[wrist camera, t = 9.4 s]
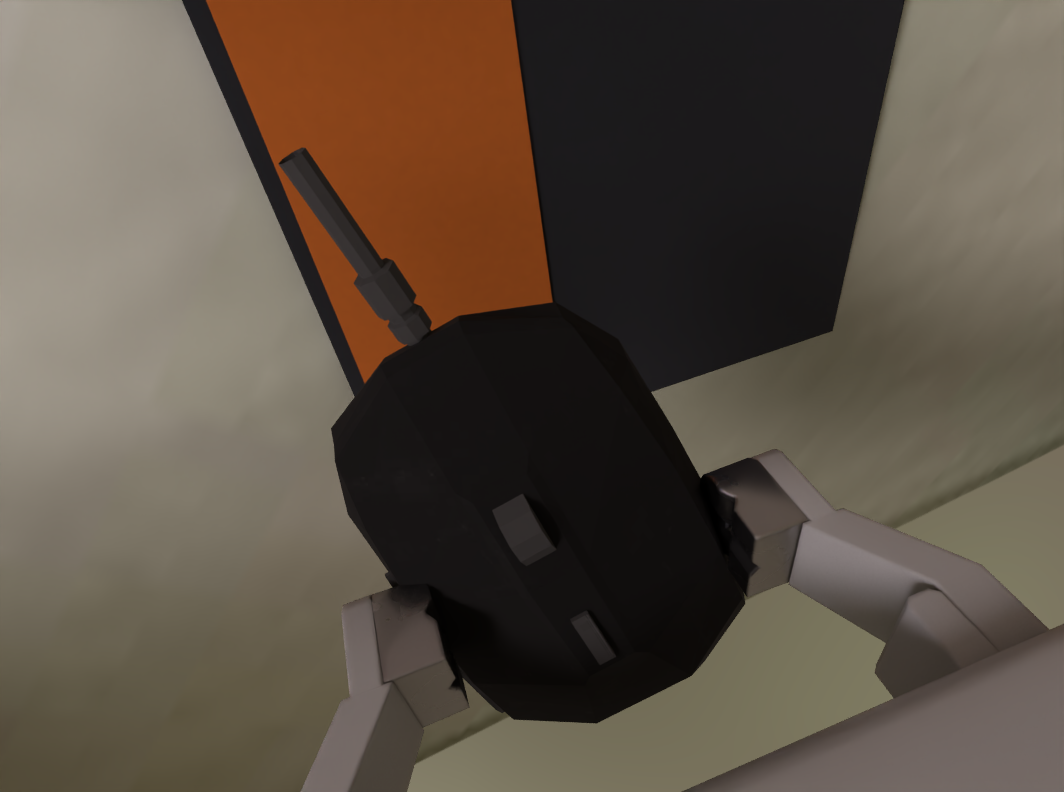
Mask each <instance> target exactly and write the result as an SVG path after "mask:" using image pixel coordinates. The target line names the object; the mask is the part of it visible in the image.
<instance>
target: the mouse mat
mask: <svg viewBox="0 0 1064 792" xmlns="http://www.w3.org/2000/svg"><path fill="white" fill-rule="evenodd" d="M182 1H183V4H184V6H185V8H186V11H187V13H188V15H189V17H190V20H191V22H192V24H193V27H194V29H195V31H196V34H197V36H198V38H199V40H200V43H201V45H202V47H203V50H204V52H205V54H206V56H207V59H208V61H209V63H210V66H211V68H212V70H213V73H214V75H215V77H216V79H217V82H218V84H219V86H220V89H221V91H222V93H223V95H224V98H225V100H226V102H227V105H228V107H229V109H230V112H231V114H232V116H233V118H234V121H235V123H236V125H237V128H238V130H239V132H240V134H241V137H242V139H243V141H244V144H245V146H246V148H247V151H248V153H249V155H250V157H251V160H252V162H253V164H254V167H255V169H256V171H257V173H258V176H259V178H260V180H261V183H262V185H263V187H264V190H265V192H266V194H267V196H268V199H269V201H270V203H271V206H272V208H273V210H274V212H275V215H276V217H277V219H278V222H279V224H280V226H281V229H282V231H283V233H284V235H285V238H286V240H287V242H288V245H289V247H290V249H291V251H292V254H293V256H294V258H295V261H296V263H297V265H298V268H299V270H300V272H301V274H302V277H303V279H304V281H305V284H306V286H307V288H308V290H309V293H310V295H311V297H312V300H313V302H314V304H315V307H316V309H317V311H318V313H319V316H320V318H321V320H322V323H323V325H324V327H325V329H326V332H327V334H328V336H329V339H330V341H331V343H332V346H333V348H334V350H335V352H336V355H337V357H338V359H339V362H340V364H341V366H342V368H343V371H344V373H345V375H346V378H347V380H348V382H349V385H350V387H351V389H352V391H353V394H354V396H356V395H357V393H358V392H359V391H360V390H361V388H362V387H363V386H364V384H365V383H366V382H367V380H368V379H369V378H370V376H371V375H372V374H373V372H374V371H375V370H376V368H377V367H378V366H379V364H380V363H381V362H382V360H383V359H384V358H385V357H387V356H389V355H390V354H392V353H394V352H396V351H397V350H399V349H401V348H403V347H404V346H406V345H407V344H406V345H404V344H402V343H400V342H399V341H398V340H397V339H396V337H395V336H394V335H393V333H392V332H391V331H390V329H389V328H388V324H389V322H390V321H389V320H386V321H384V320H383V319H381V318H379V317H378V316H377V315H376V313H375V312H374V311H373V309H372V308H371V306H370V305H369V304H368V302H367V301H366V300H365V298H364V297H363V296H362V294H361V293H360V292H359V290H358V289H357V287H356V286H355V285H354V281H355V279H356V278H357V276H358V274H357V272H356V271H355V270H354V268H353V267H352V265H351V264H350V263H349V261H348V260H347V258H346V257H345V256H344V254H343V253H342V252H341V250H340V249H339V247H338V246H337V245H336V243H335V242H334V240H333V239H332V238H331V236H330V235H329V234H328V232H327V231H326V229H325V228H324V227H323V225H322V224H321V222H320V221H319V220H318V218H317V217H316V215H315V214H314V213H313V211H312V210H311V209H310V207H309V206H308V204H307V203H306V202H305V200H304V199H303V197H302V196H301V195H300V193H299V192H298V191H297V189H296V188H295V186H294V185H293V184H292V182H291V181H290V179H289V178H288V177H287V175H286V174H285V173H284V171H283V170H282V168H281V167H280V166H279V164H278V163H279V162H280V161H281V160H282V159H283V158H285V157H286V156H288V155H289V154H291V153H292V152H294V151H296V150H298V149H300V148H306V149H307V151H308V152H309V154H310V155H311V156H312V158H313V159H314V161H315V162H316V164H317V165H318V167H319V168H320V170H321V171H322V173H323V174H324V175H325V177H326V178H327V180H328V181H329V183H330V184H331V186H332V187H333V189H334V190H335V192H336V193H337V195H338V196H339V197H340V199H341V200H342V202H343V203H344V205H345V206H346V208H347V209H348V211H349V212H350V214H351V215H352V217H353V218H354V219H355V221H356V222H357V224H358V225H359V227H360V228H361V230H362V231H363V233H364V234H365V236H366V237H367V239H368V240H369V241H370V243H371V244H372V246H373V247H374V249H375V250H376V252H377V253H378V255H379V256H380V258H381V259H384V258H388V259H391V260H393V261H394V262H395V264H396V265H397V267H398V268H399V270H400V271H401V273H402V274H403V276H404V277H405V279H406V280H407V282H408V283H409V285H410V286H411V288H412V289H413V291H414V292H415V294H416V295H417V296H416V298H415V300H414V304H417V305H420V306H422V308H423V309H424V310H425V312H426V313H427V315H428V316H429V318H430V319H431V321H432V324H431V327H430V329H431V331H433V330H434V329H436V328H438V327H440V326H441V325H443V324H445V323H447V322H448V321H450V320H452V319H454V318H455V317H457V316H460V315H467V314H474V313H481V312H488V311H495V310H502V309H509V308H516V307H523V306H530V305H537V304H544V303H551V302H556V303H558V304H560V305H561V306H563V307H565V308H566V309H568V310H570V311H572V312H573V313H575V314H577V315H578V316H580V317H582V318H583V319H585V320H587V321H589V322H590V323H592V324H594V325H595V326H597V327H599V328H601V329H602V330H604V331H606V332H607V333H609V334H611V335H612V336H614V337H616V338H618V339H619V341H620V342H621V344H622V346H623V347H624V349H625V351H626V352H627V354H628V355H629V357H630V359H631V360H632V362H633V364H634V365H635V367H636V369H637V370H638V372H639V373H640V375H641V377H642V378H643V380H644V382H645V383H646V385H647V387H648V388H649V390H650V391H651V392H652V391H655V390H658V389H661V388H664V387H667V386H670V385H673V384H676V383H679V382H682V381H685V380H688V379H691V378H694V377H697V376H700V375H702V374H705V373H708V372H711V371H714V370H717V369H720V368H723V367H726V366H729V365H732V364H735V363H738V362H741V361H744V360H747V359H750V358H753V357H756V356H759V355H762V354H765V353H768V352H771V351H774V350H777V349H780V348H783V347H786V346H789V345H792V344H795V343H798V342H801V341H804V340H807V339H810V338H813V337H816V336H819V335H822V334H825V333H828V332H831V331H832V330H833V326H834V322H835V317H836V313H837V308H838V303H839V299H840V294H841V290H842V285H843V280H844V276H845V271H846V267H847V262H848V258H849V253H850V248H851V244H852V239H853V235H854V230H855V225H856V221H857V216H858V212H859V207H860V203H861V198H862V193H863V189H864V184H865V180H866V175H867V170H868V166H869V161H870V157H871V152H872V148H873V143H874V138H875V134H876V129H877V125H878V120H879V115H880V111H881V106H882V102H883V97H884V93H885V88H886V83H887V79H888V74H889V70H890V65H891V60H892V56H893V51H894V47H895V42H896V38H897V33H898V28H899V24H900V19H901V15H902V10H903V5H904V1H905V0H182Z"/></svg>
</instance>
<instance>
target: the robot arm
mask: <svg viewBox="0 0 1064 792" xmlns="http://www.w3.org/2000/svg"><path fill="white" fill-rule="evenodd" d="M700 489H701V491H702V492H703V494H704V495H705V497H706V500H707V503H708V507H709V511H710V514H711V518H712V522H713V525H714V528H715V531H716V533H717V535H718V538H719V540H720V543H721V546H722V548H723V551H724V553H725V554H726V555H728V570H729V571H730V573H731V574H732V576H733V577H734V579H735V580H736V581H737V583H738V584H739V586H740V587H741V589H742V590H743V592H744V593H745V595H746V596H747V597H749V596H752V595H755V594H757V593H760V592H763V591H766V590H768V589H771V588H774V587H777V586H779V585H782V584H785V583H788V582H789V585H790V586H792V587H793V588H795V589H797V590H798V591H800V592H802V593H804V594H805V595H807V596H808V597H810V598H812V599H814V600H815V601H817V602H818V603H820V604H822V605H824V606H825V607H827V608H829V609H830V610H832V611H833V612H835V613H837V614H839V615H840V616H842V617H843V618H845V619H847V620H848V621H850V622H852V623H854V624H855V625H857V626H858V627H860V628H862V629H864V630H865V631H867V632H869V633H870V634H872V635H873V636H875V637H877V638H878V639H881V640H882V641H884V642H885V643H886V645H885V647H884V649H883V651H882V653H881V656H880V658H879V660H878V662H877V664H876V669H875V674H876V675H877V677H878V678H879V679H880V680H881V682H882V683H883V684H884V686H885V687H886V689H887V690H888V691H889V693H890V694H891V695H892V696H893V698H894V699H891V700H889V701H887V702H885V703H883V704H880V705H878V706H876V707H873V708H871V709H869V710H866V711H864V712H862V713H860V714H858V715H855V716H853V717H851V718H848V719H846V720H844V721H841V722H839V723H837V724H835V725H832V726H830V727H828V728H826V729H824V730H821V731H819V732H816V733H814V734H812V735H810V736H807V737H805V738H803V739H801V740H798V741H796V742H794V743H791V744H789V745H787V746H785V747H782V748H780V749H778V750H776V751H773V752H771V753H769V754H766V755H764V756H762V757H760V758H757V759H755V760H753V761H751V762H748V763H746V764H744V765H742V766H739V767H737V768H735V769H732V770H730V771H728V772H726V773H723V774H721V775H719V776H716V777H714V778H712V779H710V780H707V781H705V782H703V783H701V784H699V785H696V786H694V787H691V788H689V789H687V790H685V791H682V792H1064V624H1062V625H1060V626H1057V627H1055V628H1053V629H1050V630H1049V629H1048V628H1047V627H1046V626H1045V625H1044V624H1043V623H1042V622H1041V621H1040V620H1039V619H1038V618H1037V617H1036V616H1034V614H1033V613H1032V612H1031V611H1030V610H1029V609H1027V608H1026V607H1025V606H1024V605H1023V604H1022V603H1021V602H1020V601H1019V600H1018V599H1017V598H1016V597H1015V596H1014V595H1013V594H1012V593H1011V592H1010V591H1009V590H1008V589H1007V588H1006V587H1004V586H1003V585H1002V584H1001V583H1000V582H999V581H998V580H997V579H996V578H995V577H994V576H993V575H992V574H991V573H990V572H989V571H988V570H987V569H986V568H985V567H984V566H982V565H981V564H979V563H976V562H974V561H971V560H969V559H966V558H964V557H962V556H959V555H957V554H954V553H952V552H949V551H947V550H944V549H942V548H940V547H937V546H935V545H932V544H930V543H927V542H925V541H922V540H920V539H918V538H915V537H913V536H910V535H908V534H905V533H903V532H900V531H898V530H895V529H893V528H891V527H888V526H886V525H883V524H881V523H878V522H876V521H873V520H871V519H869V518H866V517H864V516H861V515H859V514H856V513H854V512H851V511H849V510H846V509H844V508H842V509H839V510H835V509H834V508H833V507H832V506H831V505H830V503H829V502H828V501H827V500H826V499H825V498H824V497H823V496H822V495H821V494H820V493H819V492H818V490H817V489H816V488H815V487H814V486H813V485H812V484H811V483H810V482H809V481H808V480H807V478H806V477H805V476H804V475H803V474H802V473H801V472H800V471H799V470H798V469H797V468H796V466H795V465H794V464H793V463H792V462H791V461H790V460H789V459H788V458H787V457H786V456H785V455H784V453H783V452H781V451H779V450H777V449H773V450H770V451H767V452H764V453H762V454H759V455H757V456H754V457H752V458H746V459H744V460H741V461H738V462H736V463H733V464H731V465H728V466H725V467H723V468H720V469H717V470H715V471H712V472H710V473H707V474H704V475H703V476H702V477H701V479H700ZM440 620H441V615H440V613H439V610H438V608H437V605H436V603H435V600H434V598H433V595H432V592H431V590H430V587H429V585H428V584H414V585H401V586H400V585H399V586H396V587H393V588H390V589H387V590H384V591H381V592H378V593H375V594H372V595H369V596H366V597H363V598H361V599H358V600H355V601H352V602H349V603H347V604H344V605H343V609H342V624H343V634H344V643H345V653H346V663H347V672H348V682H349V692H350V697H349V698H346V699H344V700H342V701H341V703H340V705H339V707H338V709H337V712H336V714H335V716H334V718H333V721H332V723H331V725H330V727H329V730H328V732H327V734H326V736H325V739H324V741H323V743H322V745H321V748H320V750H319V752H318V754H317V756H316V759H315V761H314V763H313V765H312V768H311V770H310V772H309V774H308V777H307V779H306V781H305V783H304V786H303V788H302V790H301V792H407V789H408V786H409V782H410V779H411V775H412V772H413V768H414V765H415V761H416V758H417V754H418V750H419V747H420V743H421V740H422V736H423V733H424V730H423V727H425V726H428V725H430V724H432V723H435V722H437V721H439V720H442V719H444V718H446V717H449V716H451V715H453V714H456V713H458V712H460V711H463V710H465V709H467V708H470V707H469V703H468V699H467V695H466V691H465V687H464V683H463V678H462V674H461V671H460V669H459V666H458V664H457V662H456V660H455V658H454V655H453V652H452V648H451V645H450V641H449V638H448V634H447V631H446V630H445V629H443V628H442V627H440Z"/></svg>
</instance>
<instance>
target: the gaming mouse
mask: <svg viewBox="0 0 1064 792" xmlns="http://www.w3.org/2000/svg"><path fill="white" fill-rule="evenodd" d="M278 164H279V166H280V167H281V168H282V170H283V171H284V173H285V174H286V175H287V177H288V178H289V179H290V181H291V182H292V184H293V185H294V186H295V188H296V189H297V191H298V192H299V193H300V195H301V196H302V197H303V199H304V200H305V202H306V203H307V204H308V206H309V207H310V209H311V210H312V211H313V213H314V214H315V215H316V217H317V218H318V220H319V221H320V222H321V224H322V225H323V227H324V228H325V229H326V231H327V232H328V234H329V235H330V236H331V238H332V239H333V240H334V242H335V243H336V245H337V246H338V247H339V249H340V250H341V252H342V253H343V254H344V256H345V257H346V258H347V260H348V261H349V263H350V264H351V265H352V267H353V268H354V270H355V271H356V272H357V274H358V276H357V278H356V279H355V281H354V285H355V286H356V287H357V289H358V290H359V292H360V293H361V294H362V296H363V297H364V298H365V300H366V301H367V302H368V304H369V305H370V306H371V308H372V309H373V311H374V312H375V313H376V315H377V316H378V317H379V318H381V319H383V320H384V321H386V320H389V321H390V322H389V324H388V328H389V329H390V331H391V332H392V333H393V335H394V336H395V337H396V339H397V340H398V341H399V342H400V343H402V344H404V345H406V344H407V345H406V346H404V347H403V348H401V349H399V350H397V351H396V352H394V353H392V354H390V355H389V356H387V357H385V358H384V359H383V360H382V362H381V363H380V364H379V366H378V367H377V368H376V370H375V371H374V372H373V374H372V375H371V376H370V378H369V379H368V380H367V382H366V383H365V384H364V386H363V387H362V388H361V390H360V391H359V392H358V393H357V395H356V396H355V397H354V399H353V400H352V401H351V403H350V404H349V405H348V407H347V408H346V409H345V411H344V412H343V413H342V415H341V416H340V417H339V419H338V420H337V421H336V423H335V424H334V425H333V427H332V428H331V430H332V436H333V442H334V452H335V463H336V467H337V471H338V475H339V479H340V483H341V488H342V492H343V496H344V500H345V504H346V508H347V512H348V515H349V516H350V518H351V519H352V521H353V522H354V524H355V525H356V526H357V528H358V529H359V531H360V532H361V533H362V535H363V536H364V538H365V539H366V540H367V542H368V543H369V545H370V546H371V548H372V549H373V550H374V552H375V553H376V555H377V556H378V557H379V559H380V560H381V562H382V563H383V565H384V566H385V567H386V569H387V570H388V573H386V574H385V576H386V578H387V580H388V581H389V583H390V584H391V586H392V587H396V586H399V585H400V586H401V585H414V584H428V585H429V587H430V590H431V592H432V595H433V598H434V600H435V603H436V605H437V608H438V610H439V613H440V615H441V620H440V627H442V628H443V629H445V630H446V631H447V634H448V638H449V641H450V645H451V648H452V652H453V655H454V658H455V660H456V662H457V664H458V666H459V669H460V671H461V674H462V677H463V678H464V679H465V680H466V681H467V682H468V683H469V684H470V685H471V686H472V687H473V688H474V689H475V690H476V691H477V692H478V693H479V694H480V695H481V696H482V697H483V698H484V699H485V700H486V701H487V702H488V703H489V704H490V705H492V706H493V707H494V708H495V709H496V710H497V711H499V712H501V713H503V712H506V713H507V714H508V715H509V716H510V717H511V718H513V719H514V720H515V719H516V720H538V721H558V722H579V723H598V722H600V721H602V720H604V719H606V718H608V717H610V716H612V715H614V714H616V713H618V712H620V711H622V710H624V709H626V708H628V707H630V706H632V705H634V704H636V703H638V702H640V701H642V700H644V699H646V698H648V697H650V696H652V695H654V694H656V693H658V692H660V691H662V690H664V689H666V688H668V687H670V686H672V685H674V684H676V683H678V682H680V681H682V680H684V679H686V678H688V677H690V676H692V675H693V673H694V672H695V671H696V670H697V669H698V668H699V667H700V666H701V664H702V663H703V662H704V661H705V660H706V658H707V657H708V656H709V654H710V653H711V651H712V650H713V648H714V647H715V645H716V644H717V643H718V641H719V640H720V639H721V637H722V636H723V634H724V632H726V630H727V629H728V627H729V626H730V624H731V623H732V622H733V620H734V619H735V617H736V616H737V614H738V613H739V612H740V610H741V609H742V607H743V606H744V605H745V599H744V593H743V590H742V589H741V587H740V586H739V584H738V583H737V581H736V580H735V579H734V577H733V576H732V574H731V573H730V571H729V570H728V555H726V554H725V553H724V551H723V548H722V546H721V543H720V540H719V538H718V535H717V533H716V531H715V528H714V525H713V522H712V518H711V514H710V511H709V507H708V503H707V500H706V497H705V495H704V494H703V492H702V491H701V489H700V479H701V478H700V477H699V475H698V473H697V471H696V469H695V467H694V466H693V464H692V462H691V460H690V458H689V457H688V455H687V453H686V451H685V449H684V447H683V446H682V444H681V442H680V440H679V438H678V437H677V435H676V433H675V431H674V429H673V427H672V426H671V424H670V423H669V421H668V419H667V418H666V416H665V414H664V413H663V411H662V409H661V408H660V406H659V405H658V403H657V401H656V400H655V398H654V396H653V395H652V393H651V391H650V390H649V388H648V387H647V385H646V383H645V382H644V380H643V378H642V377H641V375H640V373H639V372H638V370H637V369H636V367H635V365H634V364H633V362H632V360H631V359H630V357H629V355H628V354H627V352H626V351H625V349H624V347H623V346H622V344H621V342H620V341H619V339H618V338H616V337H614V336H612V335H611V334H609V333H607V332H606V331H604V330H602V329H601V328H599V327H597V326H595V325H594V324H592V323H590V322H589V321H587V320H585V319H583V318H582V317H580V316H578V315H577V314H575V313H573V312H572V311H570V310H568V309H566V308H565V307H563V306H561V305H560V304H558V303H556V302H551V303H544V304H537V305H530V306H523V307H516V308H509V309H502V310H495V311H488V312H481V313H474V314H467V315H460V316H457V317H455V318H454V319H452V320H450V321H448V322H447V323H445V324H443V325H441V326H440V327H438V328H436V329H434V330H433V331H431V329H430V327H431V324H432V321H431V319H430V318H429V316H428V315H427V313H426V312H425V310H424V309H423V308H422V306H420V305H417V304H414V300H415V298H416V296H417V295H416V294H415V292H414V291H413V289H412V288H411V286H410V285H409V283H408V282H407V280H406V279H405V277H404V276H403V274H402V273H401V271H400V270H399V268H398V267H397V265H396V264H395V262H394V261H393V260H391V259H388V258H384V259H381V258H380V256H379V255H378V253H377V252H376V250H375V249H374V247H373V246H372V244H371V243H370V241H369V240H368V239H367V237H366V236H365V234H364V233H363V231H362V230H361V228H360V227H359V225H358V224H357V222H356V221H355V219H354V218H353V217H352V215H351V214H350V212H349V211H348V209H347V208H346V206H345V205H344V203H343V202H342V200H341V199H340V197H339V196H338V195H337V193H336V192H335V190H334V189H333V187H332V186H331V184H330V183H329V181H328V180H327V178H326V177H325V175H324V174H323V173H322V171H321V170H320V168H319V167H318V165H317V164H316V162H315V161H314V159H313V158H312V156H311V155H310V154H309V152H308V151H307V149H306V148H300V149H298V150H296V151H294V152H292V153H291V154H289V155H288V156H286V157H285V158H283V159H282V160H281V161H280V162H279V163H278Z"/></svg>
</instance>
